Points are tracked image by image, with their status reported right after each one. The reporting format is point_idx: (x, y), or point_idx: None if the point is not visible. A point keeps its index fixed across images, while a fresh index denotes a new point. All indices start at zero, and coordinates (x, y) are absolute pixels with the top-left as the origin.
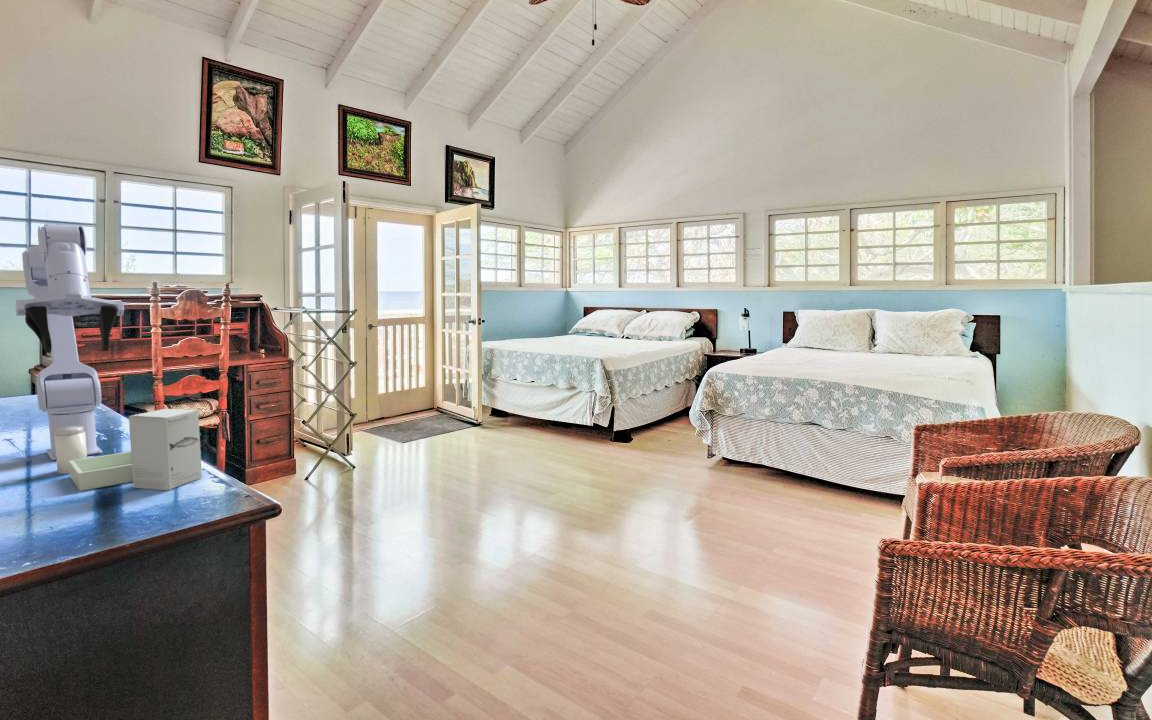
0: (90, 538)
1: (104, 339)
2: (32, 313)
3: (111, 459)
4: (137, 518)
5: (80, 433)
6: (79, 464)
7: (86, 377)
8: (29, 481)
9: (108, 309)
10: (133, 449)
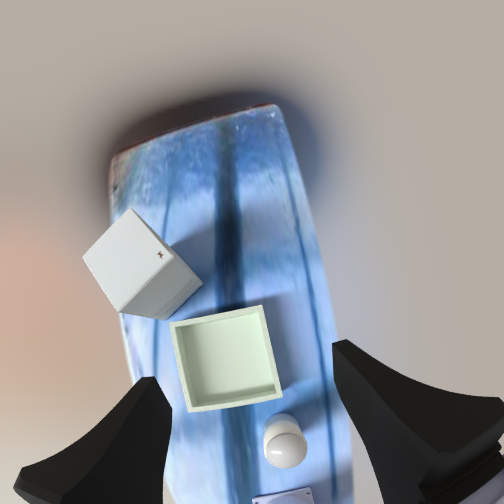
0: (238, 138)
1: (143, 390)
2: (475, 399)
3: (229, 401)
4: (204, 168)
5: (269, 440)
6: (269, 393)
7: None
8: (325, 394)
9: (43, 478)
10: (187, 267)
